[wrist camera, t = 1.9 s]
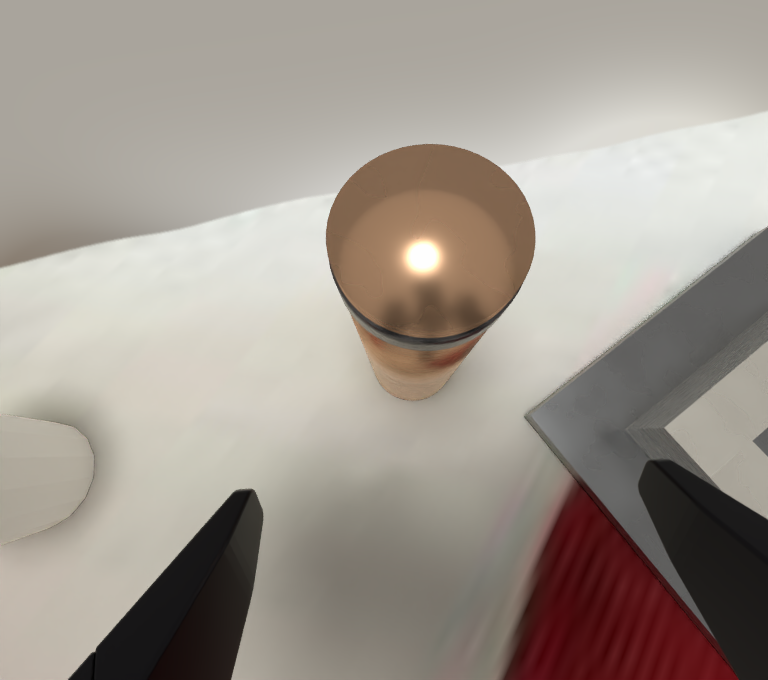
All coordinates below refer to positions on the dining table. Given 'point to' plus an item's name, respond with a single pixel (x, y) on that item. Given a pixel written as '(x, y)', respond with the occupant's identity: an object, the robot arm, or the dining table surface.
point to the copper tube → (427, 259)
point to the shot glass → (40, 474)
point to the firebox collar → (674, 406)
